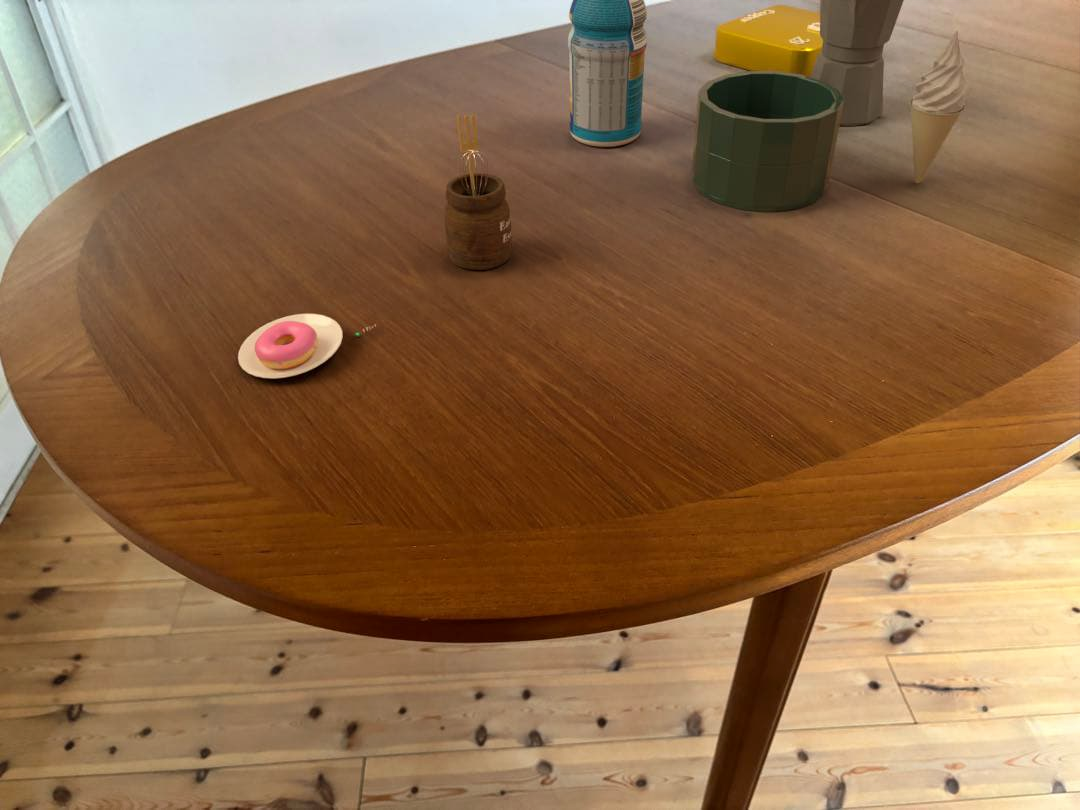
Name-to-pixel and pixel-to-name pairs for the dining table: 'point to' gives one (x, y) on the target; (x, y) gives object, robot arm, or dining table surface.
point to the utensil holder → (476, 213)
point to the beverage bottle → (606, 70)
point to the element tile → (771, 40)
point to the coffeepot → (855, 54)
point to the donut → (290, 346)
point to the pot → (765, 140)
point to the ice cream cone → (937, 105)
